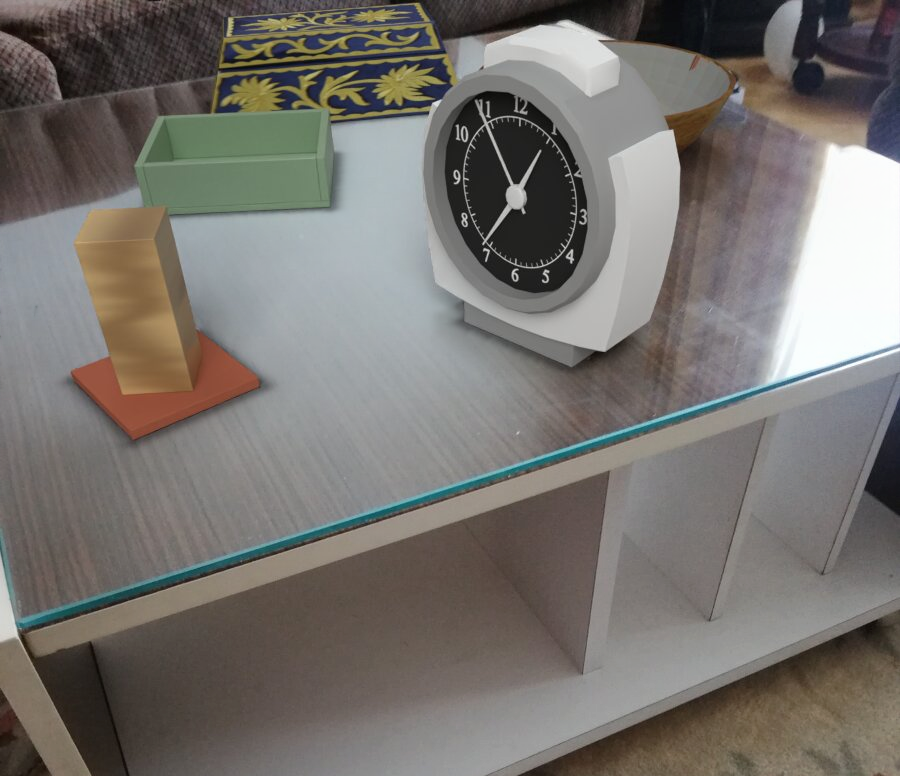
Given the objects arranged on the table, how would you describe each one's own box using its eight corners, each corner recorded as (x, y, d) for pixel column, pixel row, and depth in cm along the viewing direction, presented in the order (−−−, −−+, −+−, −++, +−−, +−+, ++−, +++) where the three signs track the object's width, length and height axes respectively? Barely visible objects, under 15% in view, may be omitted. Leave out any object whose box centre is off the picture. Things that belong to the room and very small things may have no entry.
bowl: (429, 152, 98) (425, 68, 92) (612, 104, 107) (619, 25, 101) (574, 235, 83) (581, 141, 77) (773, 171, 92) (793, 83, 86)
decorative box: (468, 110, 107) (468, 21, 100) (208, 133, 103) (190, 43, 97) (451, 81, 114) (449, -3, 108) (207, 102, 111) (190, 16, 104)
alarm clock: (416, 314, 73) (400, 24, 59) (485, 275, 78) (486, -3, 63) (601, 394, 65) (636, 78, 50) (667, 346, 69) (716, 42, 55)
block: (122, 395, 65) (73, 242, 57) (135, 357, 68) (90, 209, 60) (193, 391, 65) (154, 238, 57) (202, 354, 68) (166, 205, 60)
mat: (73, 380, 68) (69, 370, 67) (194, 334, 72) (191, 324, 71) (133, 440, 62) (130, 430, 62) (260, 386, 66) (258, 377, 66)
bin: (146, 216, 88) (133, 166, 85) (168, 162, 97) (157, 115, 94) (330, 207, 88) (324, 157, 85) (334, 154, 98) (329, 108, 95)
